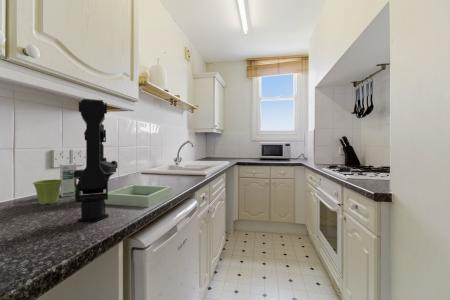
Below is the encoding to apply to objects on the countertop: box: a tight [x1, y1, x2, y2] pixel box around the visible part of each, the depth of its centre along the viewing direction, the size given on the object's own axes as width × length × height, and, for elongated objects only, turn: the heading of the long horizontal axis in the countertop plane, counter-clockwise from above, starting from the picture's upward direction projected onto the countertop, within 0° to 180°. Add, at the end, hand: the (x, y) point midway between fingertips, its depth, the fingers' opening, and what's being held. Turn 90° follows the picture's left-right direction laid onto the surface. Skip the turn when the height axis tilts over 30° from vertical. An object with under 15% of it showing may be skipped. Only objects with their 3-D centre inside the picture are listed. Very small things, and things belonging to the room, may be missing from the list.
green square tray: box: [105, 184, 173, 208], centre depth 99 cm, size 20×20×4 cm
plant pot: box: [32, 179, 62, 206], centre depth 92 cm, size 9×9×9 cm
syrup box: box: [59, 162, 78, 198], centre depth 106 cm, size 6×6×14 cm
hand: (96, 190), depth 101 cm, fingers open, 9 cm apart
